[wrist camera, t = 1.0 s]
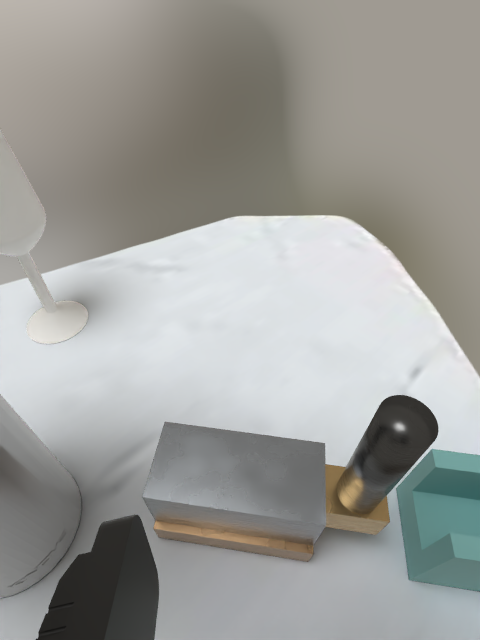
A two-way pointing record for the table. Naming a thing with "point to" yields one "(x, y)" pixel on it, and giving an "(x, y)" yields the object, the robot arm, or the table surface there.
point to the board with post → (378, 465)
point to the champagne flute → (20, 237)
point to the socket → (442, 520)
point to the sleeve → (238, 490)
